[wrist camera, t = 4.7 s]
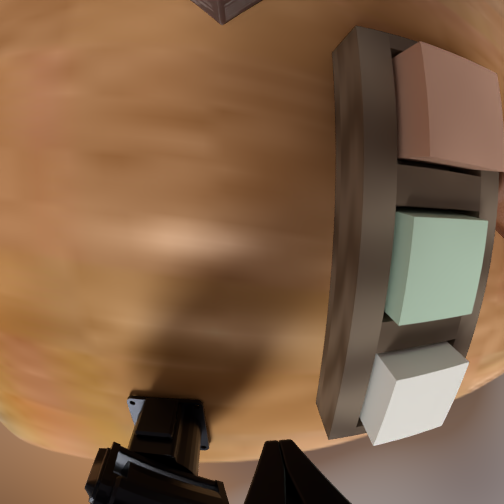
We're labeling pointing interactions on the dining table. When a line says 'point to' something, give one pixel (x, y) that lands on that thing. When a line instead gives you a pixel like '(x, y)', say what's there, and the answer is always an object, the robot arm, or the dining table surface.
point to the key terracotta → (447, 110)
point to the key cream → (411, 391)
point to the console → (381, 228)
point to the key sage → (434, 265)
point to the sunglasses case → (500, 206)
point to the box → (224, 8)
